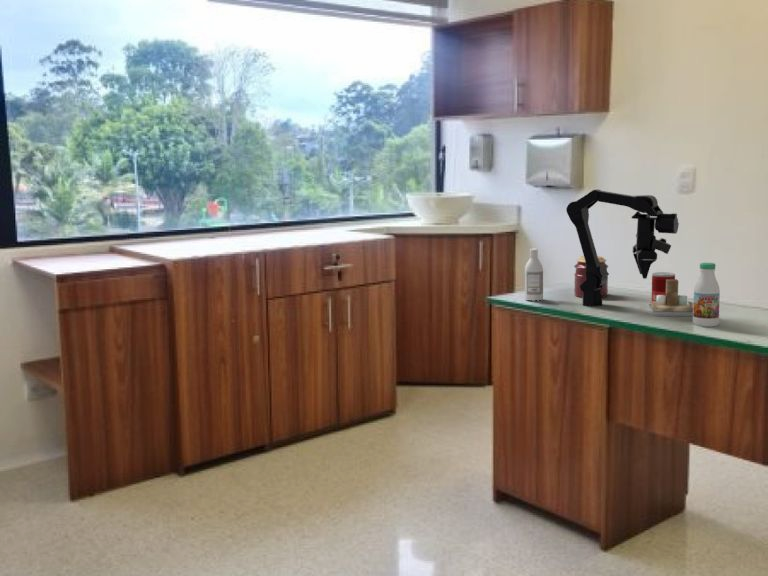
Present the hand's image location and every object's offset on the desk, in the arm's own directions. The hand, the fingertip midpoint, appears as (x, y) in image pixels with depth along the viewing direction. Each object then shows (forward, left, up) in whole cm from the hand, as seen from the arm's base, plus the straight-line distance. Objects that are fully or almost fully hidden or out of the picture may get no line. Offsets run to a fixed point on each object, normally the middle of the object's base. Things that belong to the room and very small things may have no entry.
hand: (643, 276), depth 270 cm
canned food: (+9, +16, -13) cm, 22 cm away
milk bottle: (+17, -21, -13) cm, 30 cm away
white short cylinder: (+6, -4, -9) cm, 12 cm away
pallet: (+9, -4, -10) cm, 14 cm away
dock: (+9, -4, -13) cm, 16 cm away
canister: (-16, +31, -13) cm, 37 cm away
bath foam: (-38, +21, -13) cm, 45 cm away
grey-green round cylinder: (+12, -4, -9) cm, 16 cm away
